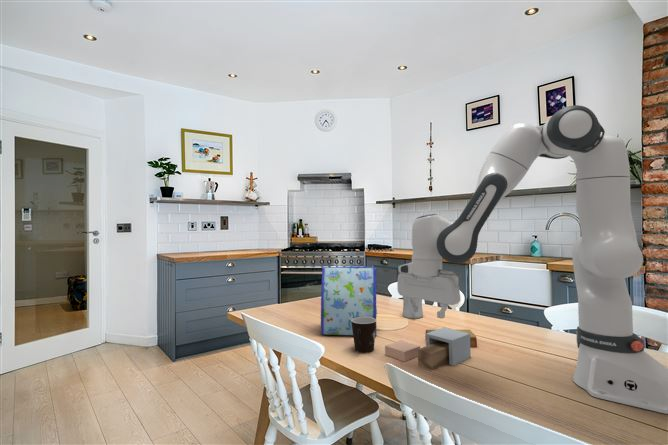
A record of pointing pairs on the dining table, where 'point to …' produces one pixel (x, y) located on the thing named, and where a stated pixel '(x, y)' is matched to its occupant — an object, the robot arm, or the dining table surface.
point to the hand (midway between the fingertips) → (427, 314)
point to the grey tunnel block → (452, 343)
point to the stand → (402, 350)
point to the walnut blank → (434, 355)
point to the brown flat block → (472, 337)
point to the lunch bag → (346, 297)
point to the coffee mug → (364, 334)
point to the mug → (407, 308)
